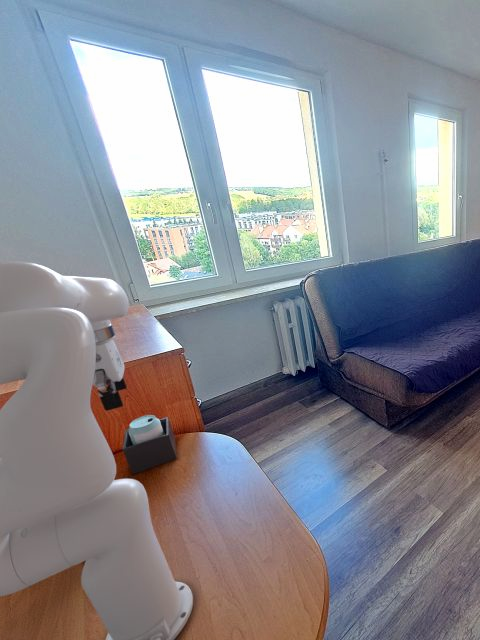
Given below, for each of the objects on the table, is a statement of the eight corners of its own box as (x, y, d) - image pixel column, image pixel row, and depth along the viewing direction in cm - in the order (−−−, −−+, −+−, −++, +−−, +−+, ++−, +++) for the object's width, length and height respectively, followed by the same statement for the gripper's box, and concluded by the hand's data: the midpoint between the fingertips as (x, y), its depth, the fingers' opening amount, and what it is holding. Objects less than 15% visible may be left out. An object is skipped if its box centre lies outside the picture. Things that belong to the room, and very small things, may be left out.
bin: (176, 458, 98) (168, 434, 94) (132, 474, 92) (122, 449, 89) (175, 439, 105) (168, 416, 102) (134, 453, 99) (125, 429, 96)
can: (158, 443, 102) (147, 411, 98) (175, 449, 100) (164, 416, 96) (133, 459, 96) (120, 426, 92) (150, 466, 94) (137, 431, 89)
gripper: (109, 343, 72) (134, 410, 78) (117, 321, 85) (138, 379, 91) (60, 352, 68) (90, 422, 74) (77, 327, 81) (101, 388, 87)
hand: (116, 398), depth 82 cm, fingers open, 9 cm apart
